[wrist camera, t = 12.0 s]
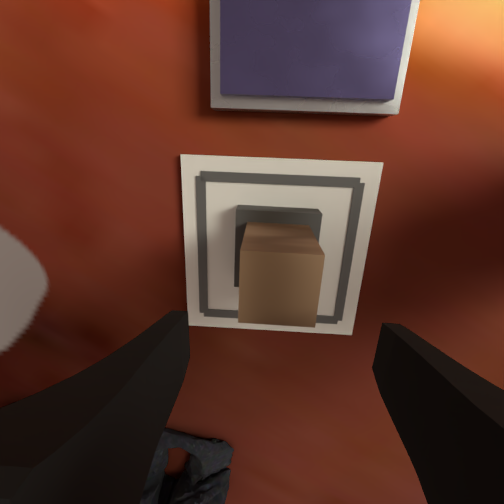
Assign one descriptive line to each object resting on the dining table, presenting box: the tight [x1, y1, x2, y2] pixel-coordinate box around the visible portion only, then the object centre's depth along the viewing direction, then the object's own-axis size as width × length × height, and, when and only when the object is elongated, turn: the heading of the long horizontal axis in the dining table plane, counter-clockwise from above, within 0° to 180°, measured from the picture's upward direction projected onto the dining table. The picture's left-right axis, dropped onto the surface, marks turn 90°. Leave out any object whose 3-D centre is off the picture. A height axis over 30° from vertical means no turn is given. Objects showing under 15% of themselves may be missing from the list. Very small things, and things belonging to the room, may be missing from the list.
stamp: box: [234, 205, 325, 328], centre depth 16 cm, size 5×5×6 cm
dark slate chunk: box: [140, 428, 234, 504], centre depth 26 cm, size 15×22×5 cm
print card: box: [181, 154, 383, 335], centre depth 19 cm, size 12×12×1 cm
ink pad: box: [210, 0, 420, 116], centre depth 14 cm, size 10×9×2 cm
